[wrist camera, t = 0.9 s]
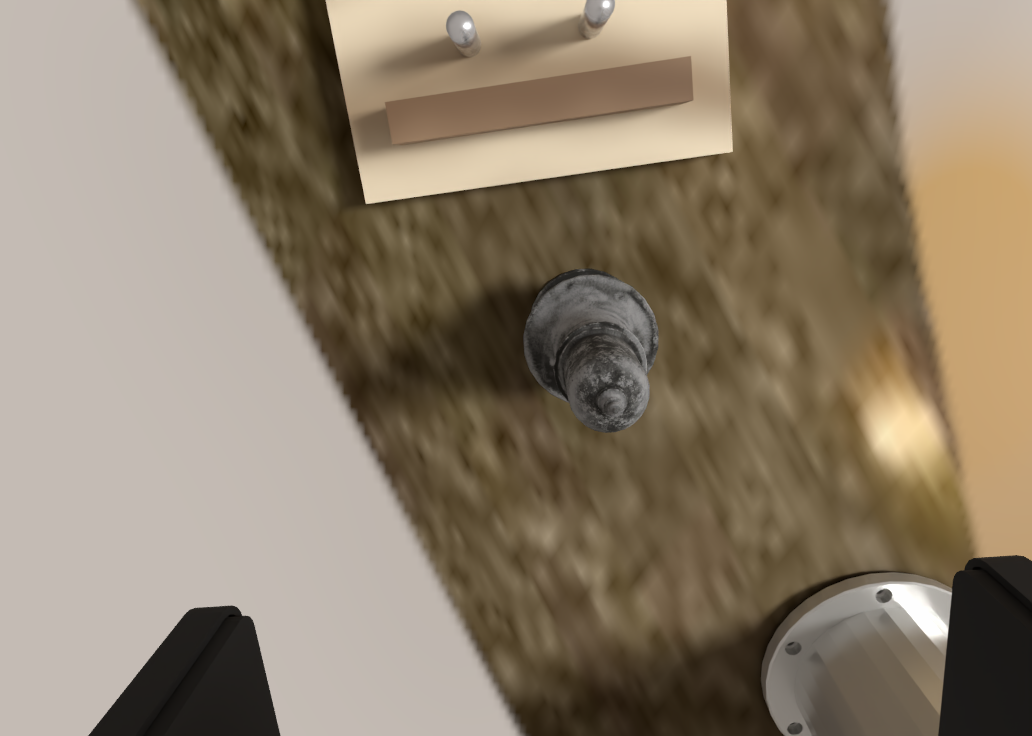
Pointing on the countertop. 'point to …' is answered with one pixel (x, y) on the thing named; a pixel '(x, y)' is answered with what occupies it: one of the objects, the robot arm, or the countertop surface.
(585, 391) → the weathered chess pawn
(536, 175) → the pin stand
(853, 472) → the countertop surface
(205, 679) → the robot arm
